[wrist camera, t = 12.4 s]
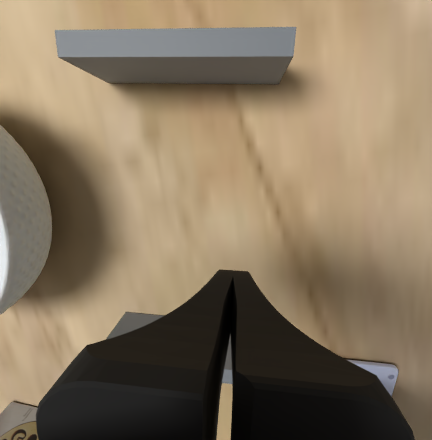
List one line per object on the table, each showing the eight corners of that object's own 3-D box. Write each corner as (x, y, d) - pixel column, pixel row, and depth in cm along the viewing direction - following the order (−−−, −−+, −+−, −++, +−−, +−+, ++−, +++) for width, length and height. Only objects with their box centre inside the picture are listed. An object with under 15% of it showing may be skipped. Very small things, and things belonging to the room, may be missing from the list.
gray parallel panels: (256, 336, 22) (260, 387, 17) (126, 323, 23) (96, 368, 18) (280, 63, 16) (296, 26, 11) (106, 63, 17) (54, 30, 13)
